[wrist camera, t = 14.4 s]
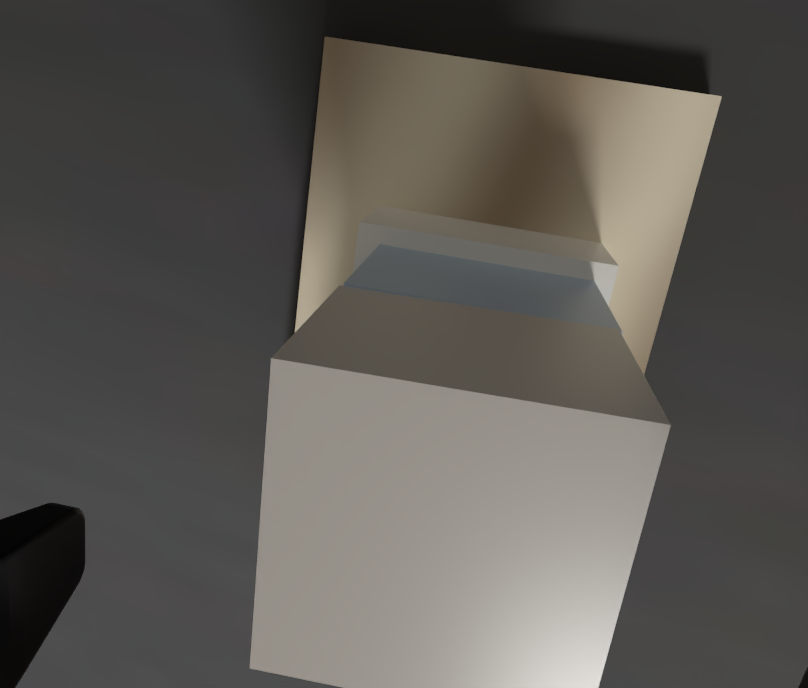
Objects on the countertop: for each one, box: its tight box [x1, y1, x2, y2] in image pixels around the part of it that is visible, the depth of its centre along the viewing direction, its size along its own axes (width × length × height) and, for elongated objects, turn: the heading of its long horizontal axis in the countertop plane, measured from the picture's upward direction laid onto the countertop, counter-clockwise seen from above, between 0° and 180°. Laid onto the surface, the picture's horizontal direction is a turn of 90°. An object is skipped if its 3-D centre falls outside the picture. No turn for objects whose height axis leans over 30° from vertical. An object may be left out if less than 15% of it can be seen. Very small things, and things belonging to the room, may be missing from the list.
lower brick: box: [353, 206, 619, 307], centre depth 19 cm, size 6×6×3 cm
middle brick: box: [344, 244, 623, 334], centre depth 15 cm, size 5×5×4 cm
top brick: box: [250, 285, 671, 688], centre depth 11 cm, size 5×5×4 cm
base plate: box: [295, 37, 722, 375], centre depth 20 cm, size 10×14×1 cm
